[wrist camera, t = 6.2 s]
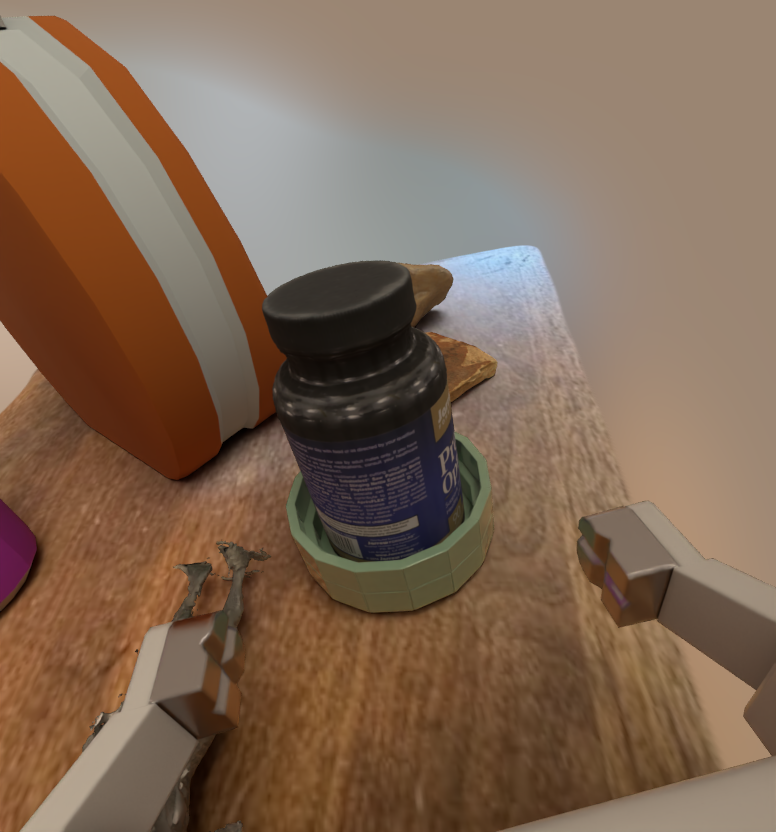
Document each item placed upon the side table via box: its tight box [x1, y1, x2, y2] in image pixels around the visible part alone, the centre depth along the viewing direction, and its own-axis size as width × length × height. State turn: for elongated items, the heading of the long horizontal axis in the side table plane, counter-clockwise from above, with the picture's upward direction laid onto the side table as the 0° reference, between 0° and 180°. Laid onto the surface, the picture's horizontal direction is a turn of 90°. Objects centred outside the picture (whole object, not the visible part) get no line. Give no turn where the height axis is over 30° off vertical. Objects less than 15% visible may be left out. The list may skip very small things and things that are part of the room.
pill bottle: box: [262, 261, 465, 563], centre depth 17 cm, size 6×6×11 cm
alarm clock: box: [0, 16, 287, 480], centre depth 26 cm, size 22×10×23 cm, turn 52°
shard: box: [425, 332, 498, 402], centre depth 28 cm, size 11×8×2 cm
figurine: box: [82, 539, 271, 832], centre depth 14 cm, size 6×4×12 cm
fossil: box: [399, 263, 453, 328], centre depth 35 cm, size 9×4×10 cm
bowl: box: [286, 432, 494, 613], centre depth 19 cm, size 8×8×3 cm
